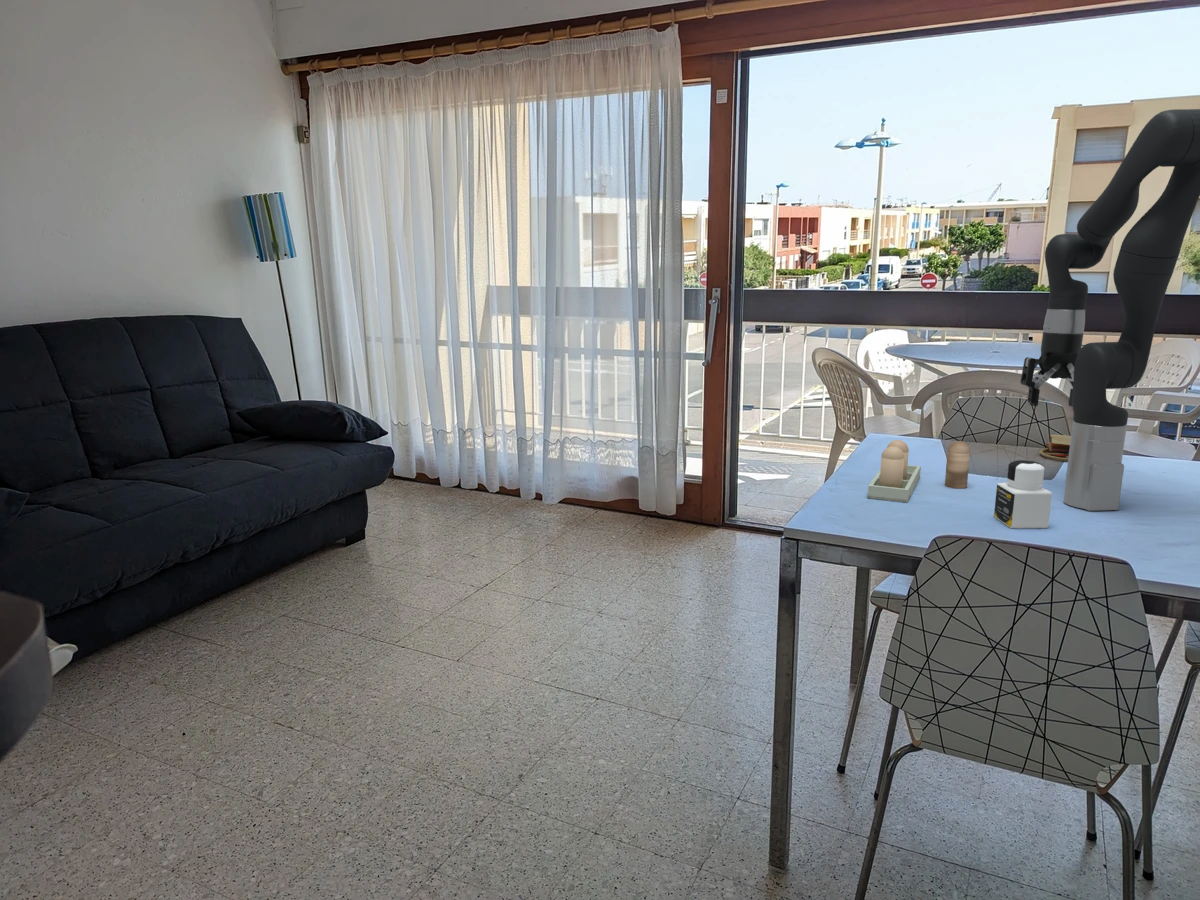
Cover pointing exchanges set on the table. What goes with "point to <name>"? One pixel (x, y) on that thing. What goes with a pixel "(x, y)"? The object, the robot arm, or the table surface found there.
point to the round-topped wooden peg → (957, 465)
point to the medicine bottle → (1023, 497)
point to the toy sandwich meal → (1057, 448)
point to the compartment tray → (894, 475)
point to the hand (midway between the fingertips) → (1053, 405)
